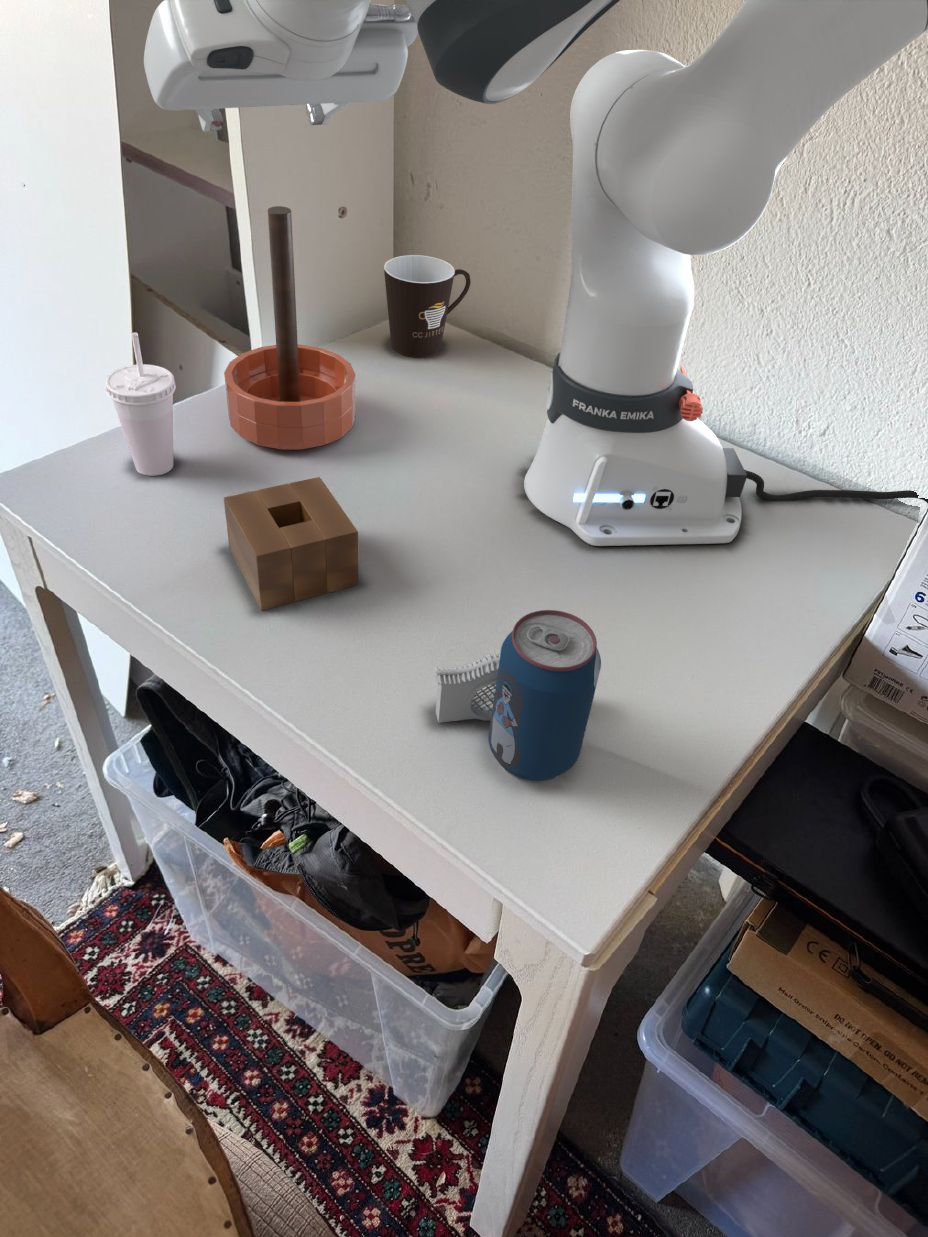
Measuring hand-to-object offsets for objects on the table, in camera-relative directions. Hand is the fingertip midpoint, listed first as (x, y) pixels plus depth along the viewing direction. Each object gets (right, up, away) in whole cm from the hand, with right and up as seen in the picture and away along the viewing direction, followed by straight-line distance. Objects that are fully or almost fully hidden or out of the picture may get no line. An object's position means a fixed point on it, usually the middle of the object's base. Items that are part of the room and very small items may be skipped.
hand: (263, 119), depth 79 cm
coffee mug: (+12, -8, +40) cm, 43 cm away
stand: (+2, -38, +5) cm, 38 cm away
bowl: (-2, -21, +24) cm, 32 cm away
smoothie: (-14, -27, +15) cm, 34 cm away
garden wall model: (+21, -50, -6) cm, 55 cm away
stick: (-2, -20, +23) cm, 31 cm away
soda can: (+22, -53, -9) cm, 58 cm away
